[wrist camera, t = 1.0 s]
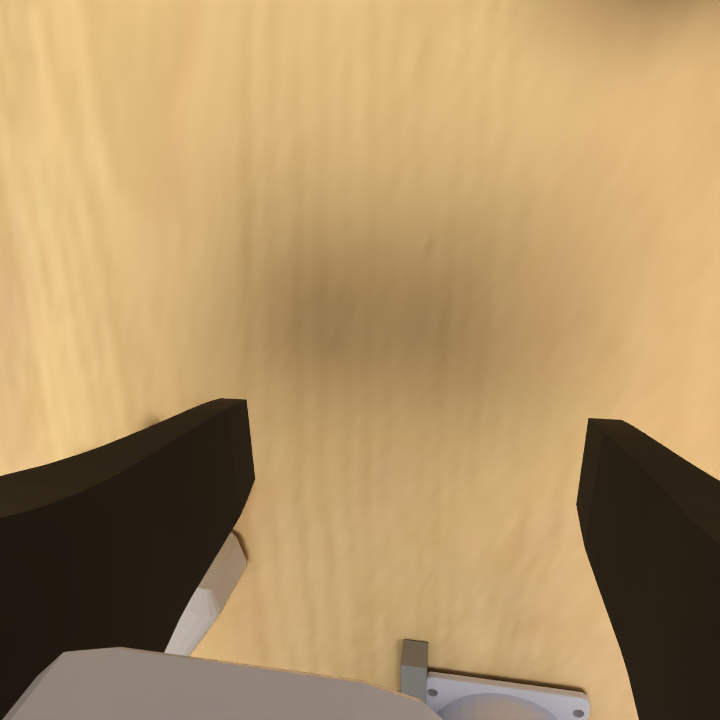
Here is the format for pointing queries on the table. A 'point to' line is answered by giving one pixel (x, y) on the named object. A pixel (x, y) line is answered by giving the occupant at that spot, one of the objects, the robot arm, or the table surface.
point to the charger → (208, 598)
